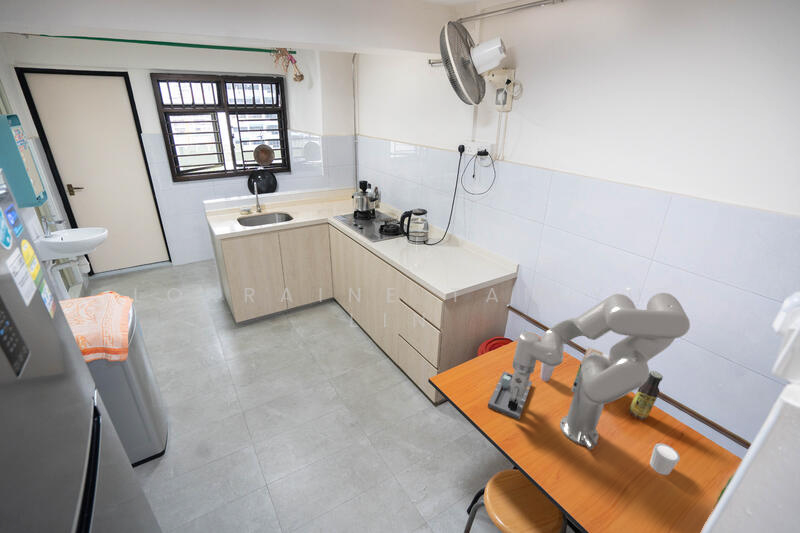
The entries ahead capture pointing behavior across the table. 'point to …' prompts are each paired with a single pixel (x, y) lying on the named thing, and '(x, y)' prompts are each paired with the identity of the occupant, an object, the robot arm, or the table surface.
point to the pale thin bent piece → (587, 354)
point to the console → (507, 398)
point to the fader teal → (505, 382)
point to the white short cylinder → (664, 459)
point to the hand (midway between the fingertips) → (515, 400)
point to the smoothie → (546, 371)
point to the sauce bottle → (646, 396)
